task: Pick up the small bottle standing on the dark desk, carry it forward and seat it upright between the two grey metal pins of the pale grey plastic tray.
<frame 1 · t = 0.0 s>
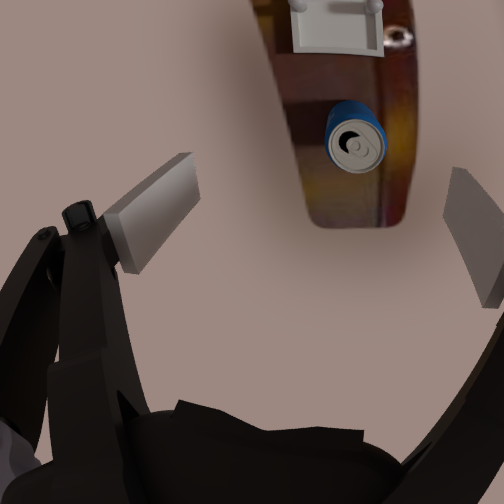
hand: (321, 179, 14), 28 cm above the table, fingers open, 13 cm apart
tray: (335, 8, 28), on the table
beverage can: (351, 122, 37), on the table
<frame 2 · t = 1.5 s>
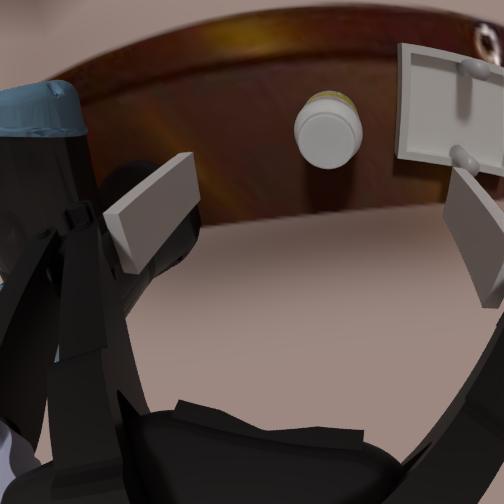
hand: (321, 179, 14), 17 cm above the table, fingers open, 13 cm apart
tray: (458, 108, 22), on the table
supplement bottle: (330, 116, 27), on the table
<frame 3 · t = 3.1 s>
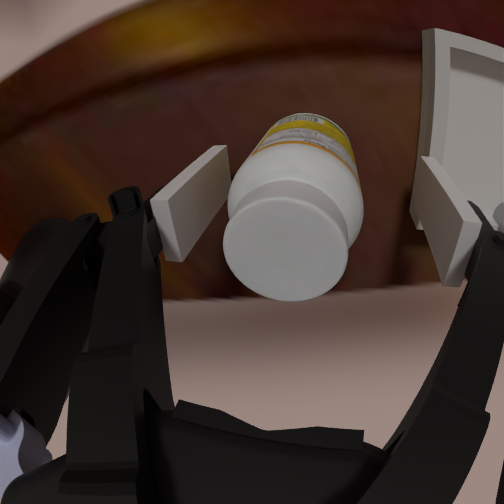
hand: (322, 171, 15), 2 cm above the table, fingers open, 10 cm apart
supplement bottle: (307, 155, 17), on the table
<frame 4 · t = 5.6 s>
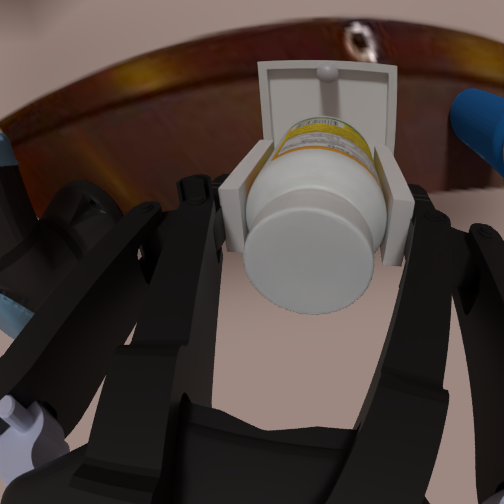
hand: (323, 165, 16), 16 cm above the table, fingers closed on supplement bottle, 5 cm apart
tray: (329, 112, 28), on the table
supplement bottle: (324, 159, 17), point 15 cm above the table, touching gripper
beverage can: (472, 116, 24), on the table
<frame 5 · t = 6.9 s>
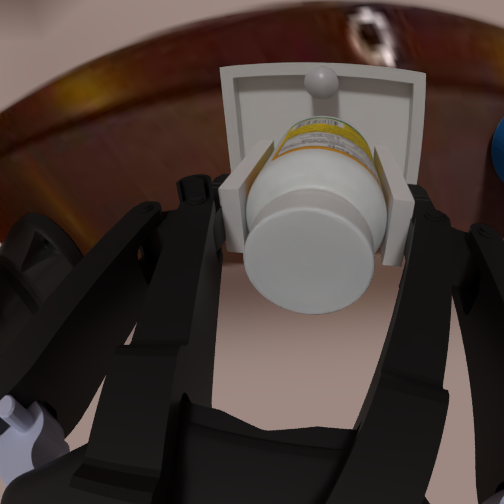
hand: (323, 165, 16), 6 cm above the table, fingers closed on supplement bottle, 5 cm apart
tray: (325, 137, 21), on the table
supplement bottle: (324, 159, 17), point 5 cm above the table, touching gripper
when the fingers open (3 cm above the table, at t = 7.7 s): supplement bottle drops 1 cm, resting on tray.
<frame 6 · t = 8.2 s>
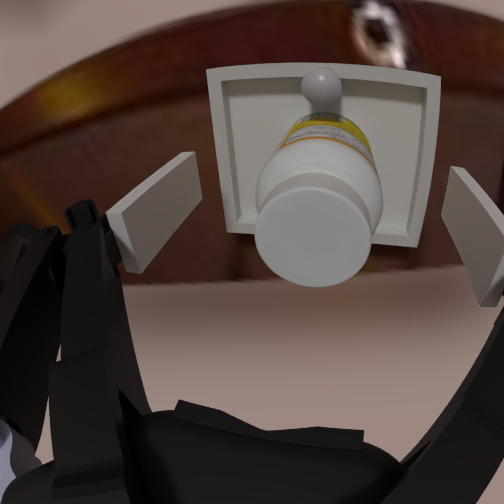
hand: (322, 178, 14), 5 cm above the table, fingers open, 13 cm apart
tray: (326, 147, 19), on the table
supplement bottle: (326, 152, 18), point 1 cm above the table, touching tray
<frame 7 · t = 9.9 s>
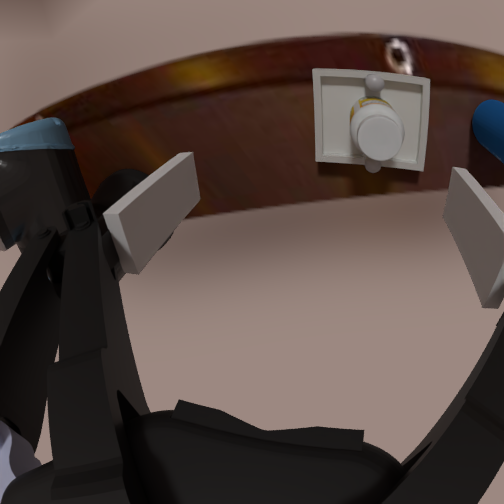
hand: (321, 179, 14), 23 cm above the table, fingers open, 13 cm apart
tray: (371, 116, 32), on the table
supplement bottle: (372, 117, 31), point 1 cm above the table, touching tray
beverage can: (490, 123, 26), on the table
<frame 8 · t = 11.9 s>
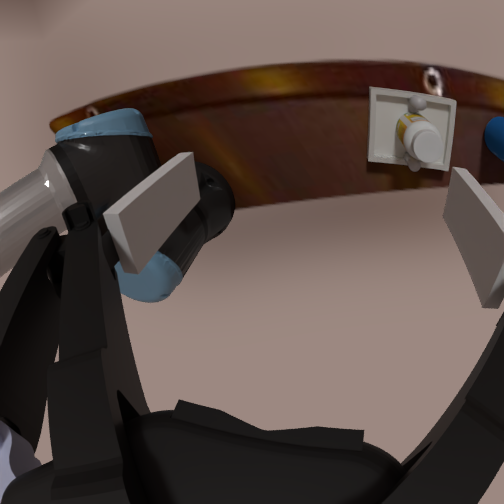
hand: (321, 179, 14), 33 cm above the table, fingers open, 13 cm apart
tray: (410, 127, 39), on the table
supplement bottle: (411, 128, 38), point 1 cm above the table, touching tray
beverage can: (497, 134, 34), on the table
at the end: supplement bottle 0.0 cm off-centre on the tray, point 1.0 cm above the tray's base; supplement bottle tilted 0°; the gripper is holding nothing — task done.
